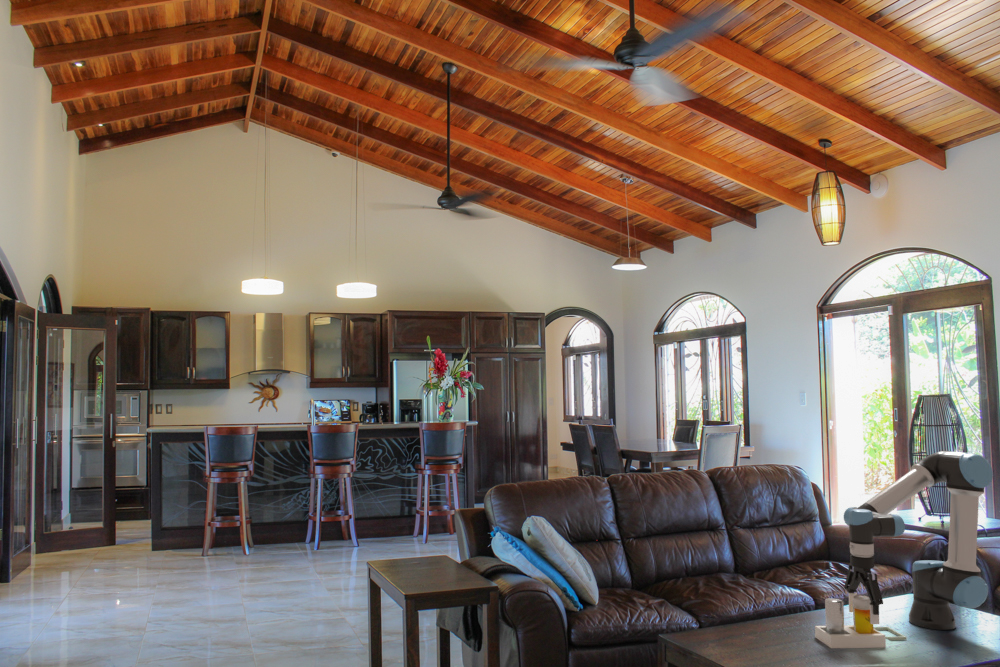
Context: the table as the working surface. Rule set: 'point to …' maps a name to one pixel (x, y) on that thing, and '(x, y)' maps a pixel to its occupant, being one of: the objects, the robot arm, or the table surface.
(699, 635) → the table surface
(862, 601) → the beer can
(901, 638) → the empty picture frame
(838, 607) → the shiny metal cylinder
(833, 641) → the dock
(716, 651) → the table surface
